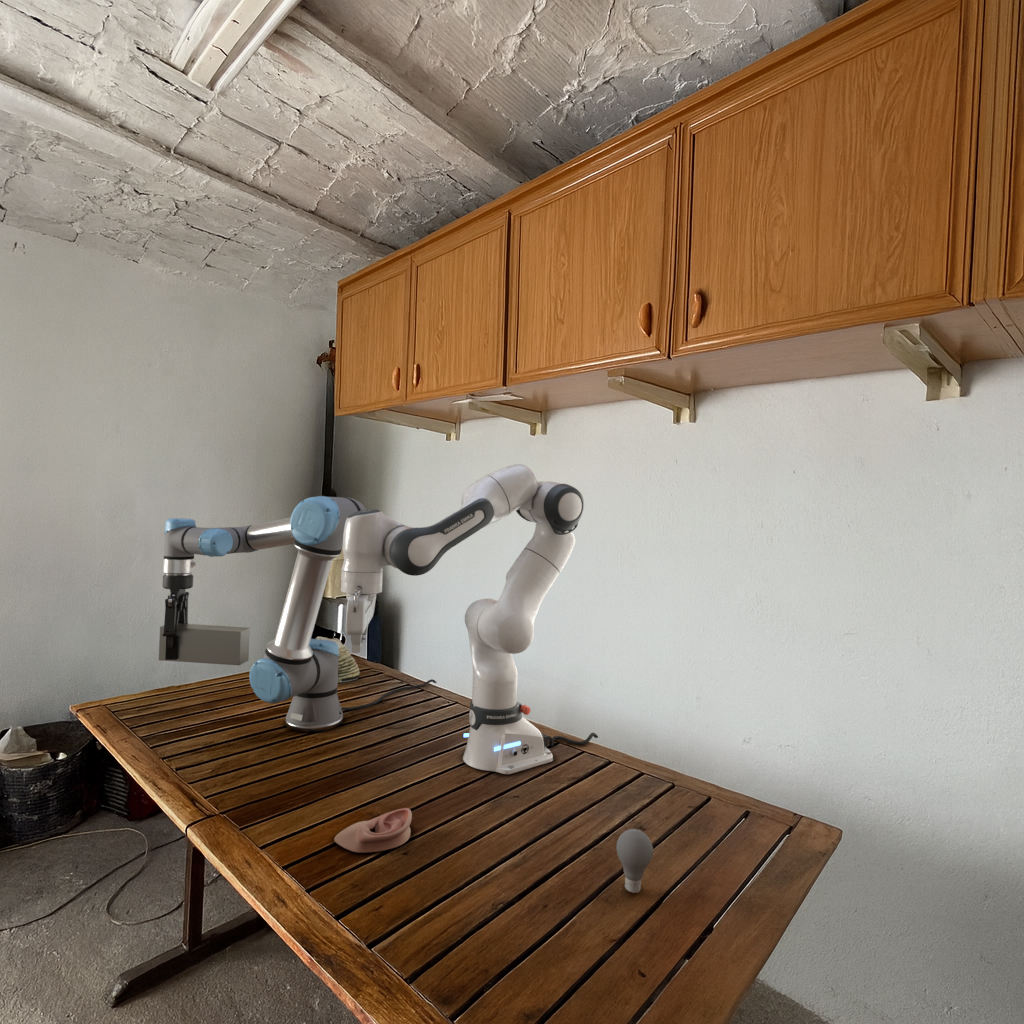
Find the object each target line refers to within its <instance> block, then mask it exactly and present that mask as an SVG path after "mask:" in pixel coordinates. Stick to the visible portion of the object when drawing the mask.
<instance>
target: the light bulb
mask: <svg viewBox="0 0 1024 1024" xmlns="http://www.w3.org/2000/svg"><path fill="white" fill-rule="evenodd" d="M615 849H616V854H617V857H618V859H619V861H620V863H621V865H622V867H623V873H624V874H623V875H624V876H625V878H624V888H625V890H627V891H628V892H630V893H634V894H635V893H639V892H640V891H641V889H642V887H641V886H642V879H643V877H644V875H645V871H646V868H647V867H648V866H649V864H650V863H651V861H652V859H653V855H654V847H653V843H652V841H651V838H649V836H648V835H647V834H646V833H645V832H643V831H642V830H641V829H636V828H629V829H627V830H625V831H623V832H622V833H621V834H620V835H619V837H618V839H617V841H616V847H615Z"/></svg>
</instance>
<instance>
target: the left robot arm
mask: <svg viewBox="0 0 1024 1024" xmlns="http://www.w3.org/2000/svg"><path fill="white" fill-rule="evenodd" d="M363 510H367V509H366V507H365V505H363V504H362V503H361V501H360V500H357V499H356V498H352V497H344V496H343V497H342V496H341V497H340V496H325V495H318V496H310V497H307V498H305V499H303V500H301V501H300V502H299V503H298V504H297V505H296V506H295V507H294V509H293V510H292V513H291V515H290V517H286V518H281V519H275V520H271V521H265V522H259V523H255V524H249V525H248V524H247V525H244V526H233V527H231V526H229V527H227V526H226V527H199V526H197V525H196V520H195V519H193V518H184V517H183V518H181V517H180V518H179V517H176V518H173V517H172V518H168V519H166V521H165V526H164V532H163V534H164V538H163V561H162V573H163V575H162V588H163V589H165V590H169V595H167V598H165V600H164V603H165V604H164V606H165V607H164V622H163V623H164V624H163V626H164V633H163V636H166V654H165V660H177V645H178V636H176V635H177V627H178V623H181V624H189V596H190V593H189V591H186V590H189V589H191V588H193V587H194V574H193V573H194V566H196V565H197V563H196V561H194V560H195V555H198V556H199V555H200V556H207V557H210V558H213V557H218V558H219V557H224V556H226V555H230V554H241V553H242V554H243V553H244V554H245V553H248V554H249V553H254V552H258V551H259V550H264V549H265V550H266V549H272V548H277V547H278V548H279V547H283V546H289V545H294V548H295V549H296V551H297V554H296V558H295V562H294V566H293V569H292V573H291V577H290V581H289V585H288V589H287V592H286V596H285V599H284V603H283V607H282V611H281V614H280V617H279V622H278V626H277V630H276V634H275V636H274V637H275V638H274V639H272V640H270V641H268V642H267V644H266V645H265V650H264V652H263V653H264V654H263V657H262V658H259V659H257V660H256V661H255V662H254V663H253V664H252V665H251V667H250V670H249V677H248V678H249V684H250V687H251V688H252V690H253V693H254V694H255V696H256V697H257V698H259V700H260V701H263V702H265V703H266V704H277V703H280V702H286V701H287V700H289V699H291V698H292V699H291V702H290V704H289V708H288V711H287V713H286V715H285V726H286V728H287V729H289V730H291V731H294V732H295V731H296V732H301V733H316V732H325V731H329V730H332V729H335V728H337V727H339V726H340V725H342V723H343V722H344V714H343V711H353V710H359V709H364V708H368V707H372V706H374V705H376V704H378V703H380V702H381V701H382V700H383V699H384V698H385V697H387V696H390V695H391V694H394V693H397V692H400V691H404V690H405V691H406V690H410V689H417V688H423V687H425V686H427V685H428V684H430V683H433V684H437V683H438V682H437V681H436V680H435V679H431V678H430V679H429V680H427V681H425V682H424V683H421V684H416V685H409V686H408V685H407V686H403V687H399V688H395V689H391V690H389V691H388V692H386V693H384V694H383V695H381V696H380V697H379V698H378V699H376V700H375V701H372V702H368V703H366V704H362V705H357V706H350V707H349V706H344V707H343V706H341V702H340V699H339V695H338V661H339V647H338V644H337V643H336V642H333V641H329V640H321V639H316V638H312V636H313V632H314V630H315V626H316V625H315V624H316V622H317V618H318V614H319V611H320V607H321V604H322V600H323V595H324V592H325V589H326V585H327V582H328V578H329V575H330V570H331V568H332V563H333V560H334V559H336V558H337V557H340V556H341V553H342V545H343V533H344V526H345V522H346V519H347V517H348V516H349V515H350V514H352V513H354V512H357V511H363Z"/></svg>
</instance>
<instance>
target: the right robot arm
mask: <svg viewBox="0 0 1024 1024" xmlns="http://www.w3.org/2000/svg"><path fill="white" fill-rule="evenodd" d="M460 501H461V502H460V503H461V506H460V507H459V508H458V509H457V510H455V511H453V512H452V513H451V514H449V515H447V516H445V517H444V518H442V519H440V520H438V521H436V522H435V523H434V524H432V525H429V526H423V527H413V526H408V525H405V524H403V523H400V522H398V521H396V520H394V519H392V518H391V517H389V516H388V515H386V514H385V513H384V512H382V510H379V509H366V510H363V511H357V512H354V513H352V514H350V515H349V516H348V517H347V519H346V522H345V526H344V533H343V545H342V550H341V552H342V556H343V562H342V566H341V570H340V571H341V573H340V575H341V576H340V592H341V593H343V594H346V595H345V596H346V597H345V598H346V601H347V602H346V613H345V626H344V627H345V628H344V629H345V634H346V635H349V636H350V643H351V653H353V654H359V653H361V652H362V651H361V650H362V643H365V642H366V641H367V634H368V630H369V629H368V628H369V624H370V622H371V621H372V619H373V617H374V614H375V608H376V601H377V594H380V593H382V592H383V577H384V575H383V574H384V568H385V567H386V566H391V567H393V568H395V569H398V570H399V571H400V572H401V573H403V574H405V575H408V576H412V577H413V576H415V577H417V576H421V575H425V574H427V573H428V572H430V571H431V570H433V568H435V566H436V565H437V564H438V562H439V561H441V559H442V558H443V556H444V555H445V554H446V553H447V552H448V551H449V550H451V549H452V548H454V547H456V546H457V545H458V544H460V543H461V542H463V541H465V540H467V539H468V538H469V537H471V536H472V535H475V534H476V533H477V532H479V531H480V530H481V529H484V528H486V527H488V526H490V525H493V524H495V523H497V522H499V521H501V520H502V519H503V520H504V519H505V518H506V517H508V516H509V515H511V514H514V512H516V514H517V515H518V516H519V517H520V518H521V519H523V520H525V521H527V522H530V523H534V524H535V528H534V532H533V536H532V537H531V539H530V540H529V541H528V542H527V544H526V545H525V547H524V548H523V549H522V551H521V552H520V553H519V555H518V556H517V558H516V559H515V561H514V562H513V564H512V565H511V566H510V567H509V569H508V570H507V572H506V574H505V584H504V587H503V590H502V592H501V594H500V596H499V598H498V600H497V599H494V598H481V599H476V600H474V601H473V602H471V603H470V604H469V605H468V607H467V608H466V610H465V613H464V623H465V627H466V630H467V633H468V638H469V639H468V640H469V641H468V642H469V648H470V656H471V664H472V691H471V692H472V693H471V694H472V696H471V697H472V698H471V701H470V702H469V715H468V719H469V721H468V722H469V731H468V732H467V733H463V738H467V742H466V746H465V750H464V753H463V756H462V760H463V763H465V765H467V766H469V767H471V768H474V769H477V770H480V771H487V772H495V773H499V774H502V775H513V774H515V773H518V772H522V771H525V770H529V769H532V768H535V767H539V766H541V765H546V764H548V763H552V762H553V761H554V755H553V753H552V751H551V750H550V749H549V748H548V747H550V748H552V747H554V741H558V740H559V741H562V742H566V743H569V744H571V745H575V746H584V745H587V744H588V743H590V741H591V740H592V739H593V738H595V739H598V738H599V736H598V734H597V733H595V732H591V733H590V734H588V737H587V738H586V739H584V740H581V741H579V740H574V739H570V738H568V737H565V736H563V735H562V736H561V735H555V736H551V735H548V734H545V733H544V732H543V731H540V730H539V728H537V727H536V726H535V725H534V724H533V723H531V722H530V721H529V720H528V719H526V718H525V717H524V716H523V715H525V716H528V715H530V713H531V712H532V711H531V708H530V706H528V705H526V704H523V703H521V702H520V701H518V700H517V698H518V681H519V678H518V677H519V674H518V673H519V671H518V668H517V666H516V663H515V659H514V656H513V655H516V654H520V653H523V652H525V651H526V650H527V649H528V648H529V647H530V646H531V644H532V643H533V641H534V638H535V621H536V618H537V615H538V612H539V610H540V607H541V604H542V602H543V601H544V599H545V596H546V595H547V594H548V592H549V590H550V588H551V587H552V586H553V584H554V583H555V581H556V579H557V578H558V577H559V575H560V574H561V572H562V571H563V569H564V567H565V566H566V564H567V562H568V560H569V559H570V557H571V554H572V552H573V549H574V547H575V546H576V545H575V544H576V537H575V535H574V533H573V531H575V530H576V529H577V527H578V524H579V522H580V520H581V519H582V517H583V514H584V508H585V500H584V496H583V495H582V492H580V491H579V490H578V488H576V487H574V486H573V485H570V484H567V483H560V482H556V481H549V480H547V481H538V480H537V477H536V475H535V473H534V472H533V470H531V468H529V467H528V466H526V465H525V464H521V463H516V464H511V465H508V466H505V467H503V468H500V469H497V470H494V471H493V472H490V473H489V474H486V475H484V476H482V477H480V478H479V479H477V480H476V481H474V482H472V483H471V484H470V485H469V486H468V487H466V488H465V489H464V490H463V492H462V494H461V500H460Z"/></svg>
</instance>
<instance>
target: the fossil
mask: <svg viewBox="0 0 1024 1024" xmlns="http://www.w3.org/2000/svg"><path fill="white" fill-rule="evenodd" d="M315 639H321V640H329V641H333V642H336V643H337V644H338V647H339V661H338V683H347V682H351V681H355V680H358V679H359V677H360V675H361V672H360V668H359V665H358V663H357V662H356V659H355V658H354V657H353V656H352V654H351V652H350V650H349V649H348V648H347V646H346V645H345V644H344V643H342V641H341V640H340V639H339V638H336V637H334V638H328V637H326V636H325V637H323V636H317V637H315Z"/></svg>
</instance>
